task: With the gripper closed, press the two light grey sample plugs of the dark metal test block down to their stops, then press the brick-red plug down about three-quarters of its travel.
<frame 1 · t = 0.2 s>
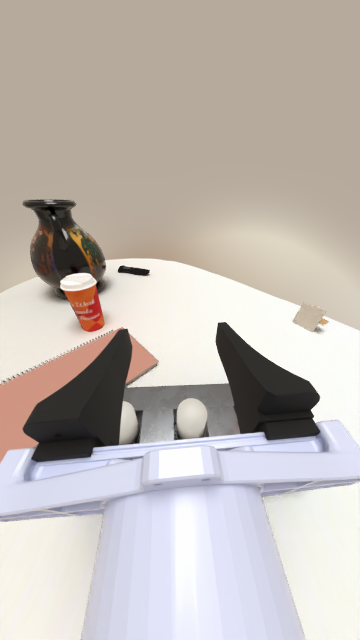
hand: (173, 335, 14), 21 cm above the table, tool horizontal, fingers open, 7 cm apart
paper cup: (94, 325, 48), on the table
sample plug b: (190, 421, 23), point 6 cm above the table, slide at 0.0 cm
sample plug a: (122, 425, 22), point 6 cm above the table, slide at 0.0 cm
notebook: (81, 379, 35), on the table
test block: (188, 438, 26), on the table
architectural model: (302, 327, 50), on the table
amphora vase: (81, 290, 65), on the table
electric trimmer: (134, 274, 80), on the table
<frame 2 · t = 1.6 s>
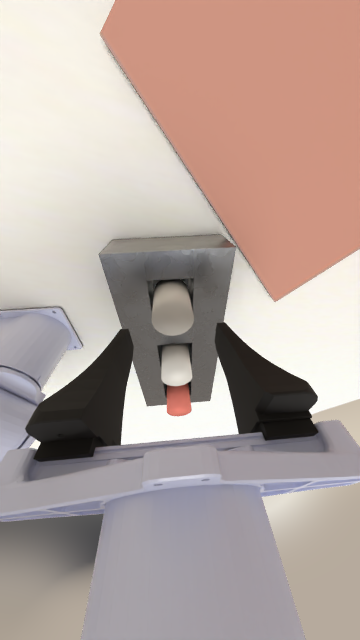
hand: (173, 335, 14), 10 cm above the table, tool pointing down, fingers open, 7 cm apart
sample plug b: (175, 361, 23), point 6 cm above the table, slide at 0.0 cm
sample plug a: (171, 304, 17), point 6 cm above the table, slide at 0.0 cm
notebook: (293, 145, 15), on the table
test block: (173, 331, 27), on the table
red plug: (178, 395, 28), point 6 cm above the table, slide at 0.0 cm
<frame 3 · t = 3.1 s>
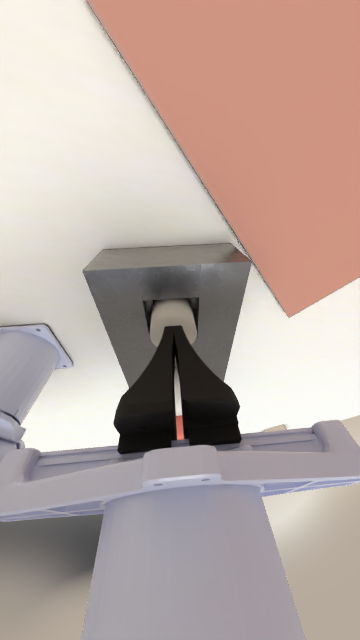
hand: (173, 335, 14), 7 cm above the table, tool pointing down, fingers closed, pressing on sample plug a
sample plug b: (177, 386, 20), point 6 cm above the table, slide at 0.0 cm
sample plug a: (172, 316, 16), point 4 cm above the table, slide at 1.7 cm, touching gripper
notebook: (320, 137, 13), on the table
test block: (174, 347, 25), on the table
red plug: (179, 418, 26), point 6 cm above the table, slide at 0.0 cm
architectural model: (273, 425, 49), on the table
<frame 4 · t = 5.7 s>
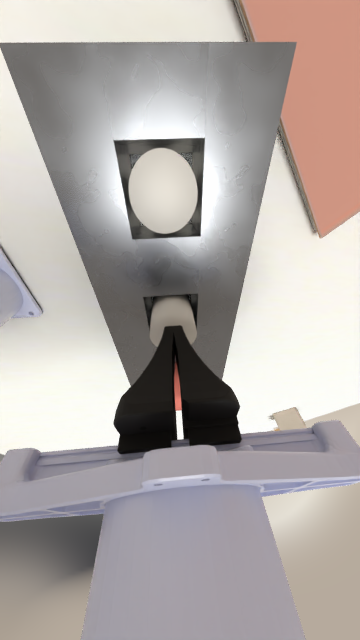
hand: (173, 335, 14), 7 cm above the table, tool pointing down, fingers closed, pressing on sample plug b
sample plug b: (172, 316, 16), point 5 cm above the table, slide at 1.1 cm, touching gripper
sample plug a: (163, 194, 11), point 3 cm above the table, slide at 2.8 cm
test block: (170, 290, 19), on the table
red plug: (176, 381, 20), point 6 cm above the table, slide at 0.0 cm
architectural model: (282, 409, 44), on the table
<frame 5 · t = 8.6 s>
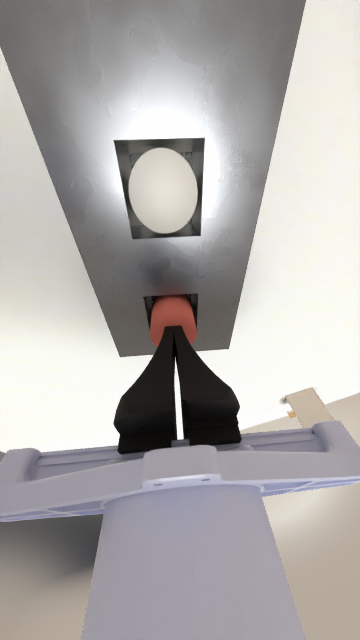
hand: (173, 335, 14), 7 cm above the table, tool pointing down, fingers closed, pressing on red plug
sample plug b: (163, 194, 11), point 3 cm above the table, slide at 2.8 cm
test block: (163, 192, 14), on the table
red plug: (172, 316, 16), point 5 cm above the table, slide at 1.1 cm, touching gripper
architectural model: (297, 390, 38), on the table
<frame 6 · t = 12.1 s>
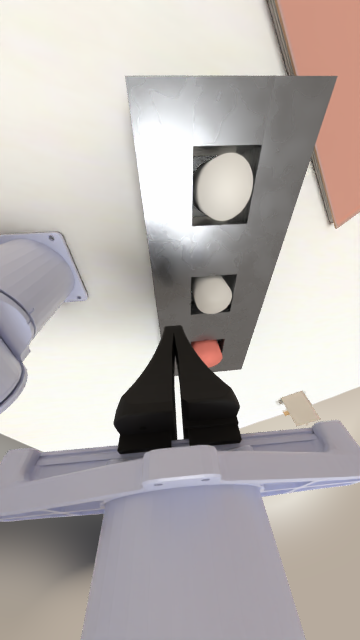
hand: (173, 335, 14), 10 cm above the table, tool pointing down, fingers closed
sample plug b: (208, 287, 20), point 3 cm above the table, slide at 2.8 cm
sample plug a: (216, 189, 14), point 3 cm above the table, slide at 2.8 cm
test block: (202, 276, 22), on the table
red plug: (204, 345, 25), point 4 cm above the table, slide at 2.2 cm
architectural model: (290, 393, 47), on the table
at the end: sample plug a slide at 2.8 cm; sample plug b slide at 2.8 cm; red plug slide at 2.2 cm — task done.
